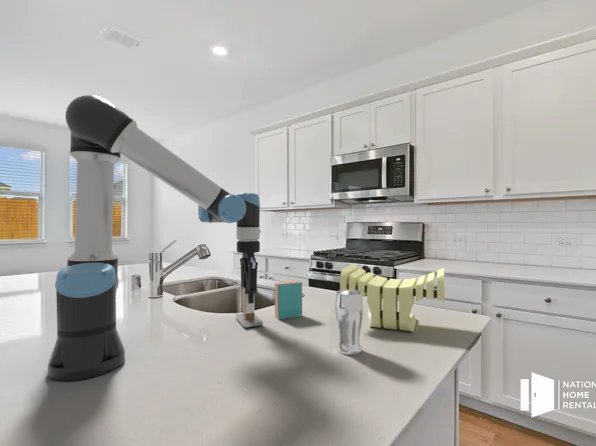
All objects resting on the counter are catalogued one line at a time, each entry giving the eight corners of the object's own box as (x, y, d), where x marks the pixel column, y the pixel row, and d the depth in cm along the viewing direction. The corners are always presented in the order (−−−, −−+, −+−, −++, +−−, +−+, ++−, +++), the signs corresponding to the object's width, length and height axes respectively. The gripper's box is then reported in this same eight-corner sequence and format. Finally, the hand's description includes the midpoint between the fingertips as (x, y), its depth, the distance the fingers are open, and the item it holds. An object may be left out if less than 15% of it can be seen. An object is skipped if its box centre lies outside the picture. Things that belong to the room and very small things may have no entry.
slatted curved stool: (340, 326, 104) (339, 269, 104) (352, 313, 119) (352, 263, 119) (444, 339, 92) (444, 275, 92) (444, 322, 107) (443, 267, 107)
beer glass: (368, 349, 85) (367, 291, 85) (353, 358, 80) (352, 296, 80) (345, 343, 90) (345, 288, 90) (330, 350, 85) (329, 292, 85)
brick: (302, 316, 115) (302, 282, 115) (278, 320, 112) (277, 284, 111) (298, 314, 118) (298, 280, 118) (275, 317, 114) (274, 282, 114)
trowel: (262, 325, 105) (262, 290, 105) (244, 327, 102) (244, 292, 102) (252, 315, 116) (252, 283, 116) (235, 317, 113) (235, 285, 113)
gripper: (266, 241, 103) (267, 316, 103) (252, 238, 118) (252, 304, 118) (243, 242, 100) (243, 319, 100) (231, 239, 115) (231, 306, 115)
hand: (248, 311), depth 109 cm, fingers closed on trowel, 3 cm apart
